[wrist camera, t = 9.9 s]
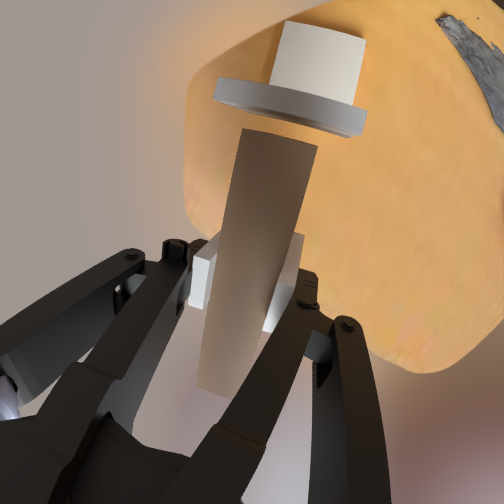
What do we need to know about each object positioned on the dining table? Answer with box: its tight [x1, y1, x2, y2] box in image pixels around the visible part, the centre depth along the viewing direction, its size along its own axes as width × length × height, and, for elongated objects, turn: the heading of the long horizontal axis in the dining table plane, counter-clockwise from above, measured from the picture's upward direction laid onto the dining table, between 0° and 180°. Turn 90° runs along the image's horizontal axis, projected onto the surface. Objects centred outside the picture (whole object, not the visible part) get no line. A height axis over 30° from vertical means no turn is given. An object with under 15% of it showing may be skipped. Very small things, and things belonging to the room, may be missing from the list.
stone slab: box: [435, 15, 504, 133], centre depth 15 cm, size 18×2×10 cm
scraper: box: [196, 77, 368, 400], centre depth 15 cm, size 6×18×6 cm, turn 168°
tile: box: [269, 21, 366, 105], centre depth 21 cm, size 8×2×9 cm
